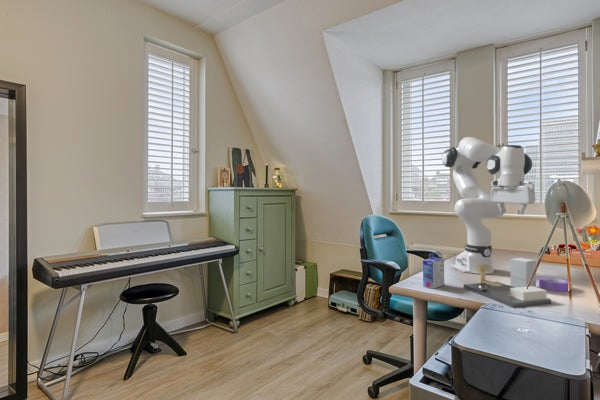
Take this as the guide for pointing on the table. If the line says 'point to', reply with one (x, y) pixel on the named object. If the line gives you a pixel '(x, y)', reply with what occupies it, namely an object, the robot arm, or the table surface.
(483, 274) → the t key
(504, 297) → the plate
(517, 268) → the supplement box
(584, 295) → the table surface
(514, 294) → the cover lid
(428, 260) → the ink cartridge box
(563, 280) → the masking tape
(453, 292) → the table surface
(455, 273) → the table surface
